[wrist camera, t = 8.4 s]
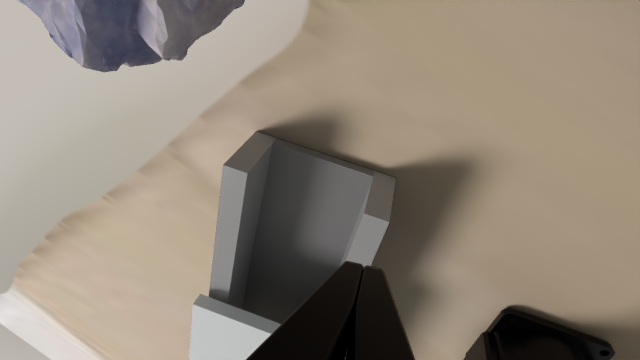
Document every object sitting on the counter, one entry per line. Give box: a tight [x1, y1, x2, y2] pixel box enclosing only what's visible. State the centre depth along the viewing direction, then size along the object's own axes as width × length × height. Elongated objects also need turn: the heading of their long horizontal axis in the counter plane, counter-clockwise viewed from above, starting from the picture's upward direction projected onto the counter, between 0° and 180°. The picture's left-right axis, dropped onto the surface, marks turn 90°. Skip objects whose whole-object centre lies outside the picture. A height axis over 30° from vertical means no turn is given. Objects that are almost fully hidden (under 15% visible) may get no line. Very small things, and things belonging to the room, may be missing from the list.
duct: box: [209, 131, 396, 324], centre depth 24 cm, size 8×18×4 cm, turn 167°
